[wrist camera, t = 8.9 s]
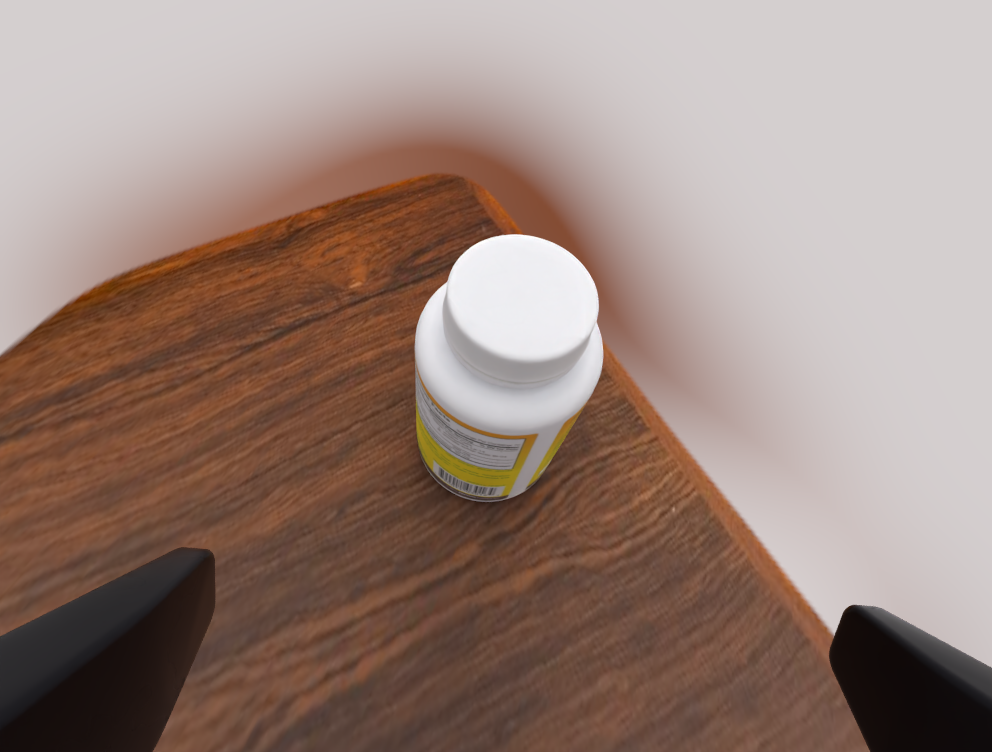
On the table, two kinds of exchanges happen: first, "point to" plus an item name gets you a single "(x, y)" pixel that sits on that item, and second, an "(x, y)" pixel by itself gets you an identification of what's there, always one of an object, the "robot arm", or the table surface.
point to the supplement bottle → (504, 365)
